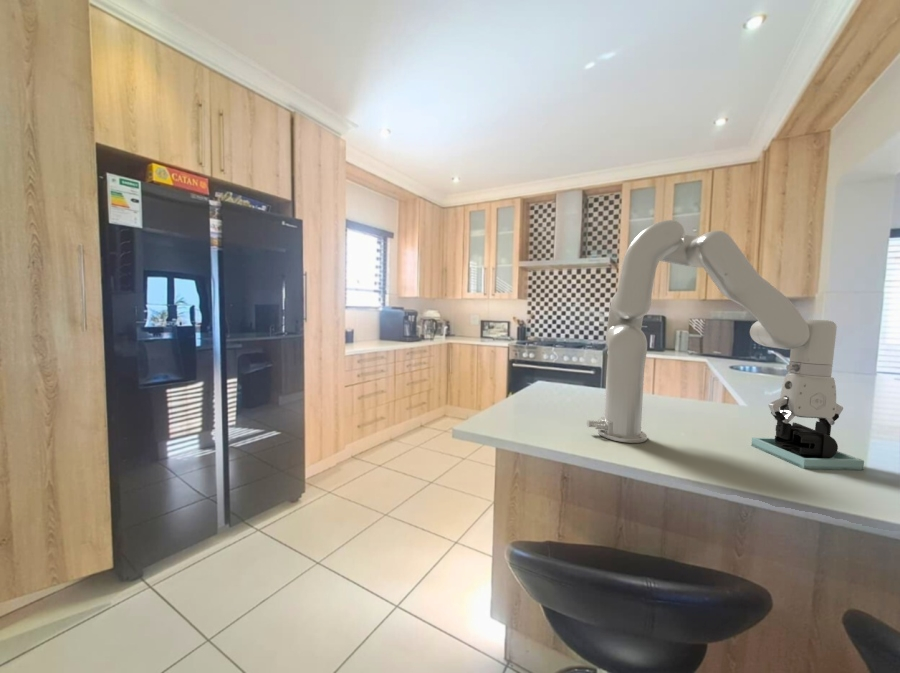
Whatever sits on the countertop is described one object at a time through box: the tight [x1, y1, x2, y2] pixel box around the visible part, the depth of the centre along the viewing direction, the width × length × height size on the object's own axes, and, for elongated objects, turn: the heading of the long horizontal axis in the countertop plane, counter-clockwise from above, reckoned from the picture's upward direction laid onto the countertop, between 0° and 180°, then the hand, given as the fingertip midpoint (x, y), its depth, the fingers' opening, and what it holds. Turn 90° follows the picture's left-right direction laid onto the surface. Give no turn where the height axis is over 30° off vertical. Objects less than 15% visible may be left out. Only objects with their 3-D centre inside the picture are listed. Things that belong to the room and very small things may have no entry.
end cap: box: [774, 422, 839, 459], centre depth 90 cm, size 10×7×7 cm
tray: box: [751, 437, 865, 471], centre depth 91 cm, size 14×15×2 cm
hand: (802, 438), depth 91 cm, fingers open, 9 cm apart
